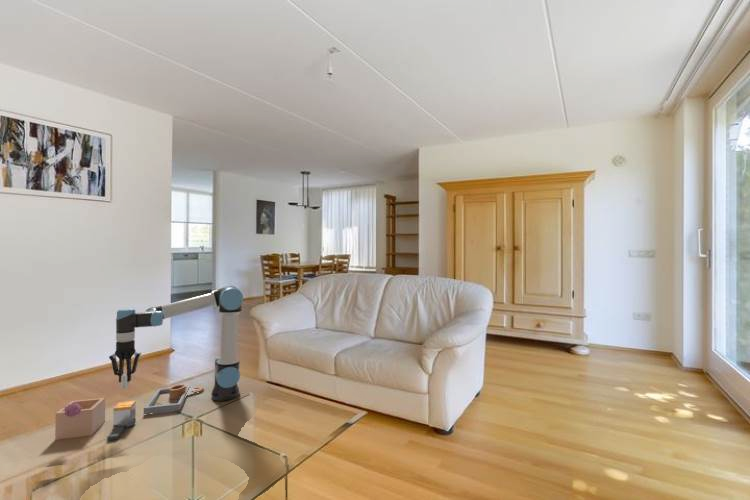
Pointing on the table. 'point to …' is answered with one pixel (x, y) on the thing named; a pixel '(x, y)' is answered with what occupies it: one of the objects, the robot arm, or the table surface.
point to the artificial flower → (72, 409)
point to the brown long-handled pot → (181, 390)
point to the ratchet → (119, 430)
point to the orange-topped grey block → (124, 412)
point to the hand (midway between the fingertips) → (124, 388)
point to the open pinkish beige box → (81, 419)
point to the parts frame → (164, 408)
